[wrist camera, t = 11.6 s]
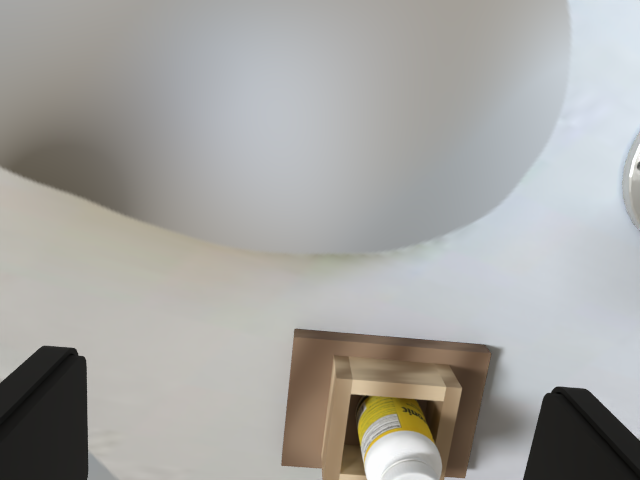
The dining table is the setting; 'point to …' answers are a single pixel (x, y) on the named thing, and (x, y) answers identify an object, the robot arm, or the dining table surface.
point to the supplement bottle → (396, 440)
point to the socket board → (378, 380)
